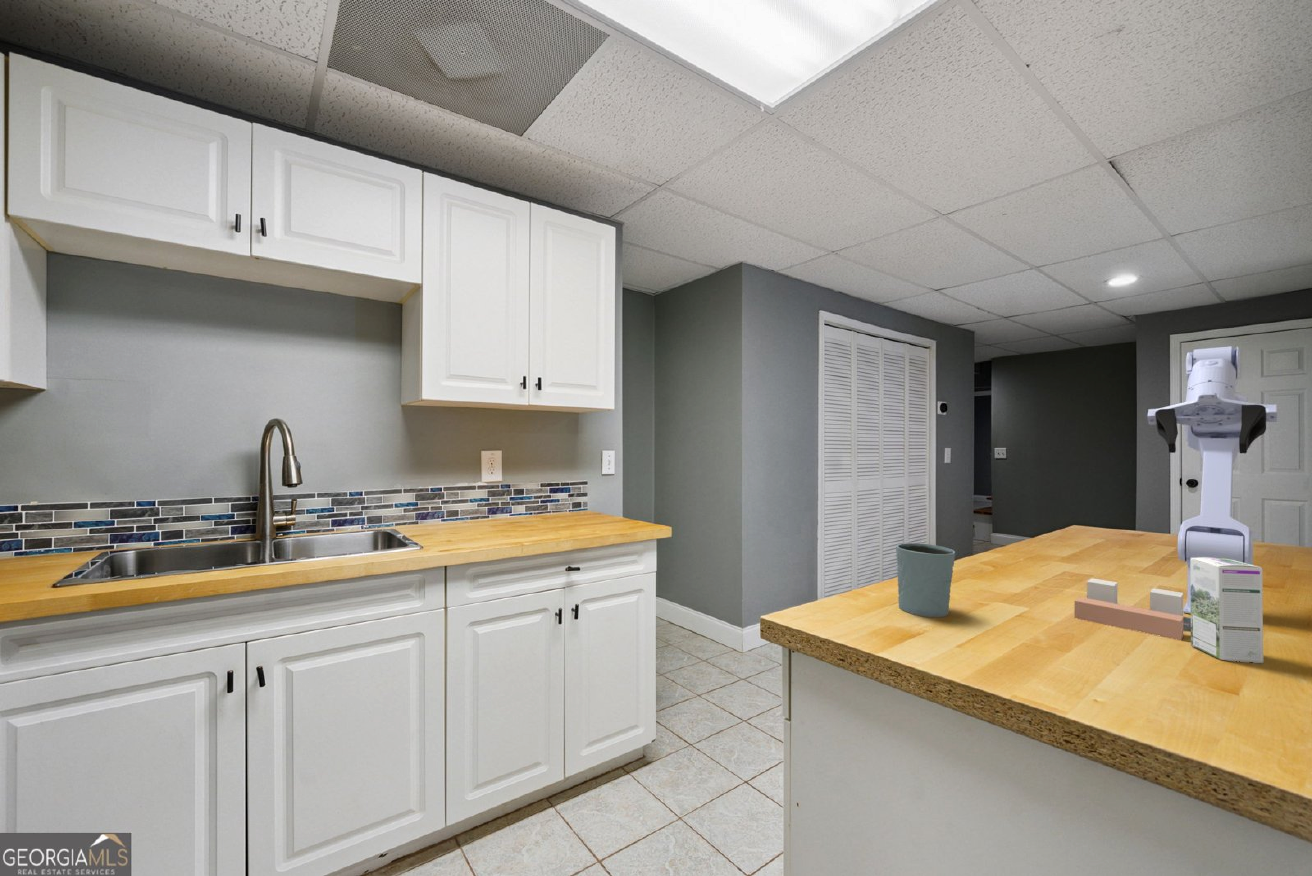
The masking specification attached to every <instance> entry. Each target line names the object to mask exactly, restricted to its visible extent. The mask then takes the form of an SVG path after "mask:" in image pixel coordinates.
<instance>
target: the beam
mask: <svg viewBox="0 0 1312 876" xmlns="http://www.w3.org/2000/svg"><path fill="white" fill-rule="evenodd" d="M1183 617H1184V615H1183V616H1179V615H1174V614H1168V613H1163V612H1158V611H1152V610H1150V609H1147V608H1141V607H1135V606H1129V605H1125V604H1118V603H1117V604H1115V603H1110V602H1104V601H1099V600H1094V599H1088V598H1087V597H1083V596H1079V597H1077V598H1076V599H1075V600H1074V619H1076V618H1077V619H1078V620H1082V621H1086V620H1088V621H1087V622H1091V621H1092V622H1091V623H1095V622H1096V623H1095V624H1101V625H1105V626H1110V625H1111V626H1110V627H1114V626H1115V628H1119V629H1124V630H1128V629H1131V630H1130V631H1133V630H1137V631H1136V632H1138V631H1141V632H1140V633H1143V632H1145V633H1144V634H1147V633H1148V635H1152V634H1156V635H1155V636H1157V635H1160V636H1159V637H1162V636H1163V637H1162V638H1166V637H1167V639H1171V638H1173V639H1172V640H1176V639H1177V640H1176V641H1180V640H1181V641H1182V639H1183V636H1184V630H1183Z"/></svg>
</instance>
